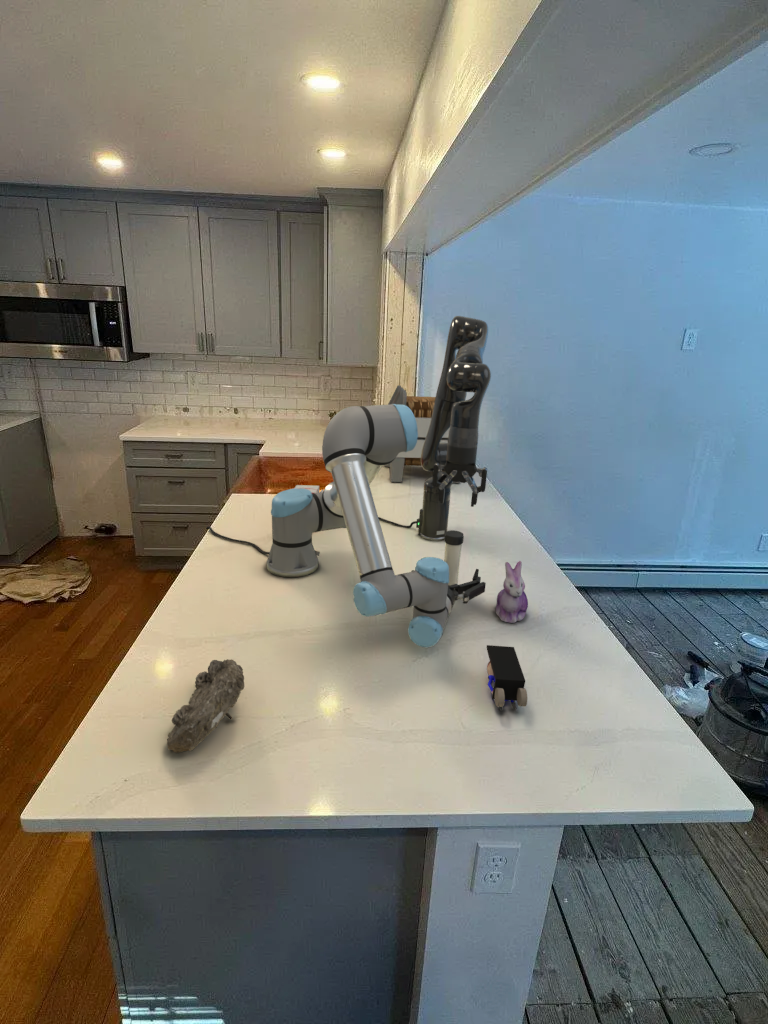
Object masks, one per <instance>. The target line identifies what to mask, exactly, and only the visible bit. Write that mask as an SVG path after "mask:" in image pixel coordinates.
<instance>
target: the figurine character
mask: <svg viewBox="0 0 768 1024" xmlns="http://www.w3.org/2000/svg"><path fill="white" fill-rule="evenodd" d="M485 648H486V651H487V655H488V659H489V661H488V663H487V665H486V672H487V674H488V677H487V678H488V681H487V686H488V689H489V690H490V693H491V699H492V700H494V704H495V705H494V706H495V707H497V708H498V709H499V710H500V711H501V712H502V711H503V707H504V706H505V703H506V702H510V704H511V708H512V711H514V712H516V711H517V710H518V709H517V708H518V707H523V708H524V707H527V705H528V692H527V688H525V684H526V678H525V675H524V673H523V669H522V667H521V664H520V660H519V658H518V654H517V652H516V649H515V646H508V645H507V646H506V645H493V644H491V645H490V644H486V647H485ZM492 684H493V685H492ZM516 703H517V704H516ZM517 706H518V707H517Z"/></svg>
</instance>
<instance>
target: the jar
mask: <svg viewBox="0 0 768 1024" xmlns="http://www.w3.org/2000/svg"><path fill="white" fill-rule="evenodd" d="M461 552H462V544H461V545H449V544H447V543H445V545H444V555H443V556H444V558H443V561H445V562H446V563H447V564H448V566H449V584H448V585H454V584H458V585H459V573H460V562H461V555H462V553H461Z"/></svg>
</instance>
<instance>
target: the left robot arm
mask: <svg viewBox="0 0 768 1024" xmlns="http://www.w3.org/2000/svg"><path fill="white" fill-rule="evenodd" d="M417 438H418V430H417V423H416V419H415V416H414V414H413V412H412V411H411V409H410V408H409V407H407V406H405V405H396V404H390V405H388V404H375V405H361V406H360V405H351V406H347V407H345V408H343V409H341V410H339V411H338V412H337V413H336V414H335V415H334V416H333V417H332V418H331V419H330V421H329V423H328V424H327V426H326V428H325V431H324V435H323V439H322V446H321V448H322V449H321V450H322V453H321V454H322V460H323V464H324V467H325V470H326V471H327V472H329V473H330V474H331V476H332V480H333V481H331V482H329V483H328V484H327V485H326V486H325V488H324V489H323V490H324V491H323V492H321V491H319V493H311V491H310V490H308V489H303V488H301V489H298V488H295V487H294V488H295V489H294V488H289V489H285V490H282V491H280V492H277V494H275V495H274V496H273V498H272V499H271V509H270V515H271V539H272V544H271V546H270V550H269V551H264V550H263V549H262V548H260V547H259V546H258V545H257V544H255V543H253V542H252V541H251V542H250V541H247V540H242V539H236V538H231V537H228V536H224V535H222V534H219V533H218V532H216V531H214V530H213V528H212V526H210V525H209V526H207V527H206V528H205V529H206V530H210V532H211V533H212V534H213V535H215V536H217V537H219V538H222V539H224V540H228V541H231V542H236V543H240V544H246V545H250V546H252V547H254V548H256V549H257V550H258V551H259V552H260V553H261V554H264V555H268V556H267V559H266V569H267V571H268V572H269V573H270V574H272V575H274V576H277V577H283V578H298V577H305V576H308V575H311V574H312V573H313V574H314V572H316V571H317V570H318V568H319V558H318V557H321V552H320V551H319V550H315V547H314V544H313V534H314V533H318V532H319V533H320V532H324V531H325V532H326V531H331V530H339V529H346V532H347V535H348V539H349V543H350V547H351V550H352V553H353V557H354V561H355V565H356V568H357V573H358V576H359V579H360V581H359V582H358V583H356V584H355V585H354V587H353V590H352V594H353V603H354V607H355V609H356V611H357V612H358V613H359V614H360V615H361V616H363V617H367V618H368V617H373V616H379V615H382V616H383V615H385V614H387V613H391V612H396V611H399V610H403V609H407V608H412V618H411V619H410V621H409V623H408V627H407V628H408V629H407V633H408V636H409V639H410V641H412V643H413V644H415V645H416V646H418V647H421V648H431V647H434V646H436V645H437V644H438V642H440V639H441V638H442V636H443V634H444V630H445V627H446V625H447V622H448V619H449V617H450V615H451V612H452V610H453V607H454V604H455V602H456V601H458V600H459V601H462V604H464V605H467V604H469V602H470V601H471V600H474V599H475V598H477V597H478V596H480V595H482V594H484V593H485V592H486V585H487V582H485V581H482V580H481V579H482V578H481V576H479V571H480V570H479V568H476V569H475V571H474V573H473V576H472V580H470V581H468V582H464V583H458V584H454V585H448V584H449V566H448V564H447V563H446V562H445V561H444V559H442V558H439V557H433V556H426V557H422V558H420V559H418V560H417V561H416V563H415V566H414V569H413V570H411V571H409V572H404V573H399V574H395V570H394V568H393V565H392V561H391V558H390V555H389V551H388V547H387V543H386V540H385V537H384V533H383V528H382V526H381V522H380V520H379V518H378V517H379V515H378V512H377V508H376V505H375V501H374V497H373V494H372V490H371V486H370V485H371V483H372V482H373V481H374V479H375V477H376V476H377V475H378V473H379V471H380V470H381V469H382V468H383V467H386V466H385V465H388V464H390V463H391V462H393V460H394V459H395V458H396V456H397V455H398V454H399V453H400V452H408V451H411V450H413V449H414V448H415V446H416V443H417Z"/></svg>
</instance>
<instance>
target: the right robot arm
mask: <svg viewBox="0 0 768 1024" xmlns="http://www.w3.org/2000/svg"><path fill="white" fill-rule="evenodd" d="M488 337H489V326H488V323H487V322H486V321H485V320H482V319H478V318H475V317H467V316H461V315H455V316H454V317H453V318H452V320H451V323H450V325H449V329H448V334H447V339H446V346H445V353H444V359H443V364H442V369H441V374H440V378H439V381H438V386H437V388H436V389H437V390H436V393H435V397H436V398H435V402H434V408H433V413H432V418H431V422H430V426H429V429H428V432H427V435H426V439H425V442H424V445H423V448H422V452H421V465H422V466H421V468H422V469H423V470H424V471H426V472H432V476H430V477H428V478H427V479H425V480H424V482H423V493H422V496H423V497H422V506H421V508H420V509H419V516H418V518H416V520H415V521H412V522H411V523H410V524H409V525H403V524H399V523H397V522H394V521H391V520H388V519H385V518H382V517H380V516H378V518H379V521H382V522H384V523H387V524H390V525H394V526H397V527H400V528H405V529H410V528H412V527H413V525H415V524H416V526H415V527H416V529H418V530H417V535H418V536H420V538H421V539H424V540H426V541H432V542H440V541H444V539H445V532H447V531H448V525H449V517H450V516H449V514H450V504H451V494H452V493H451V491H452V485H453V484H454V483H453V482H459V483H461V484H465V483H467V485H468V487H469V488H470V489H471V491H472V493H471V501H470V507H471V508H473V507H474V506H476V505H477V503H478V496H479V493H484V492H485V491H486V487H487V477H488V468H487V467H485V466H484V467H483V468H481V467H478V466H477V453H478V444H479V425H480V424H479V423H480V416H481V415H480V414H481V408H482V404H483V401H484V398H485V395H486V392H487V391H488V389H489V386H490V382H491V379H492V372H491V368H490V367H489V366H488V364H486V363H484V358H483V357H484V354H485V350H486V347H487V346H486V345H487V342H488ZM467 393H473V395H472V397H470V398H468V399H467ZM449 428H450V430H449V436H448V443H440V441H441V439H442V437H443V435H444V434H445V432H446V431H447V430H448V429H449ZM476 473H478V477H480V485H479V486H478V485H477V483H476V480H475V478H474V476H475V475H476Z"/></svg>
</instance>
